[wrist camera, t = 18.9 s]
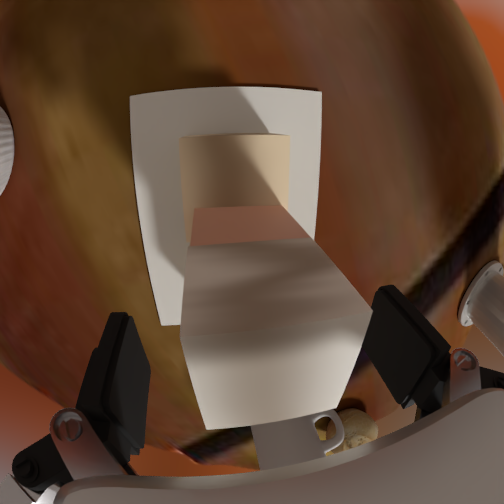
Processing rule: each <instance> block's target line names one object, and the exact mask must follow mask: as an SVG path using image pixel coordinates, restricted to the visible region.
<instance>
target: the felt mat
mask: <svg viewBox="0 0 504 504" xmlns="http://www.w3.org/2000/svg"><path fill="white" fill-rule="evenodd" d="M321 112H322V92H317V91H309V90H299V89H287V88H271V87H206V88H190V89H178V90H169V91H160V92H152V93H145V94H139V95H133V96H130V125H131V143H132V157H133V169H134V179H135V188H136V196H137V204H138V211H139V218H140V225H141V231H142V237H143V243H144V249H145V254H146V260H147V265H148V270H149V275H150V279H151V284H152V288H153V293H154V297H155V301H156V306H157V310H158V314H159V318H160V321H161V325H181V311H182V299H183V287H184V277H185V267H186V258H187V249H188V246H189V245H190V242H186V233H185V223H184V212H183V201H182V188H181V174H180V157H179V138H181V137H184V136H189V135H204V134H224V133H274V134H282V135H290V165H289V194H288V212H289V214H290V215H291V216H292V217H293V218H294V219H295V220H296V221H297V222H298V223H299V225H300V226H301V227H302V228H303V229H304V230H305V231H306V232H307V234H308V235H309V236H310V237H311V238H312V239H313V240H314V235H315V224H316V212H317V199H318V185H319V168H320V147H321Z"/></svg>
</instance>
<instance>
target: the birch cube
mask: <svg viewBox="0 0 504 504" xmlns="http://www.w3.org/2000/svg"><path fill="white" fill-rule="evenodd" d="M372 312H373V310H372V309H371V308H370V307H369V305H368V304H367V303H366V302H365V300H364V299H363V298H362V297H361V295H360V294H359V293H358V292H357V290H356V289H355V288H354V287H353V286H352V284H351V283H350V282H349V281H348V280H347V278H346V277H345V276H344V275H343V274H342V272H341V271H340V270H339V269H338V268H337V267H336V265H335V264H334V263H333V262H332V261H331V259H330V258H329V257H328V256H327V255H326V254H325V253H324V251H323V250H322V249H321V248H320V247H319V246H318V244H317V243H316V242H315V241H314V240H313V239H312V238H311V237H309V238H294V239H280V240H266V241H252V242H239V243H225V244H212V245H200V246H188V249H187V258H186V267H185V277H184V287H183V299H182V311H181V325H180V340H181V344H182V348H183V352H184V356H185V359H186V363H187V367H188V370H189V374H190V378H191V381H192V385H193V388H194V391H195V395H196V398H197V401H198V405H199V408H200V411H201V414H202V417H203V420H204V423H205V426H206V429H207V430H208V429H222V428H232V427H242V426H250V425H257V424H264V423H270V422H276V421H281V420H287V419H292V418H297V417H301V416H306V415H310V414H315V413H319V412H323V411H327V410H330V409H334V408H337V406H338V403H339V401H340V399H341V397H342V394H343V392H344V390H345V387H346V385H347V383H348V380H349V378H350V375H351V373H352V370H353V368H354V365H355V362H356V360H357V357H358V354H359V351H360V349H361V346H362V343H363V340H364V337H365V334H366V331H367V328H368V325H369V322H370V319H371V315H372Z"/></svg>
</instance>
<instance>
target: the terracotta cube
mask: <svg viewBox="0 0 504 504" xmlns="http://www.w3.org/2000/svg"><path fill="white" fill-rule="evenodd" d="M309 237H310V236H309V235H308V234H307V232H306V231H305V230H304V229H303V228H302V227H301V226H300V225H299V223H298V222H297V221H296V220H295V219H294V218H293V217H292V216H291V215H290V214H289V212H288V211H287V210H286V209H285V208H284V207H283V206H282V205H273V206H238V207H214V208H195V209H194V216H193V224H192V233H191V243H190V246H200V245H212V244H225V243H239V242H252V241H266V240H280V239H294V238H309Z"/></svg>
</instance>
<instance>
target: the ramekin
mask: <svg viewBox="0 0 504 504" xmlns="http://www.w3.org/2000/svg"><path fill="white" fill-rule="evenodd" d="M13 160H14V135H13V130H12V126H11V123H10V120H9V118H8V116H7V114H6V113H5V111H4V110H3V109H2V108H1V107H0V195H1V193H2V192H3V190H4V188H5V186H6V185H7V182H8V180H9V177H10V174H11V170H12V166H13Z"/></svg>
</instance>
